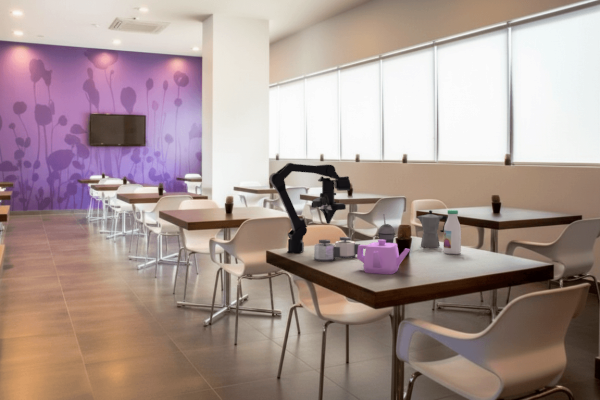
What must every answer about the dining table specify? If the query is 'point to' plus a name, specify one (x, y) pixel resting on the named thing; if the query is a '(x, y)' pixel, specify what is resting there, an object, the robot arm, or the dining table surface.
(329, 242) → the steel plunger
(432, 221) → the coffeepot
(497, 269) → the dining table surface
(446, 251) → the milk bottle
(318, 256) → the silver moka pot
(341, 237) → the cream plunger
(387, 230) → the beverage cup
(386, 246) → the teakettle
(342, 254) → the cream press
